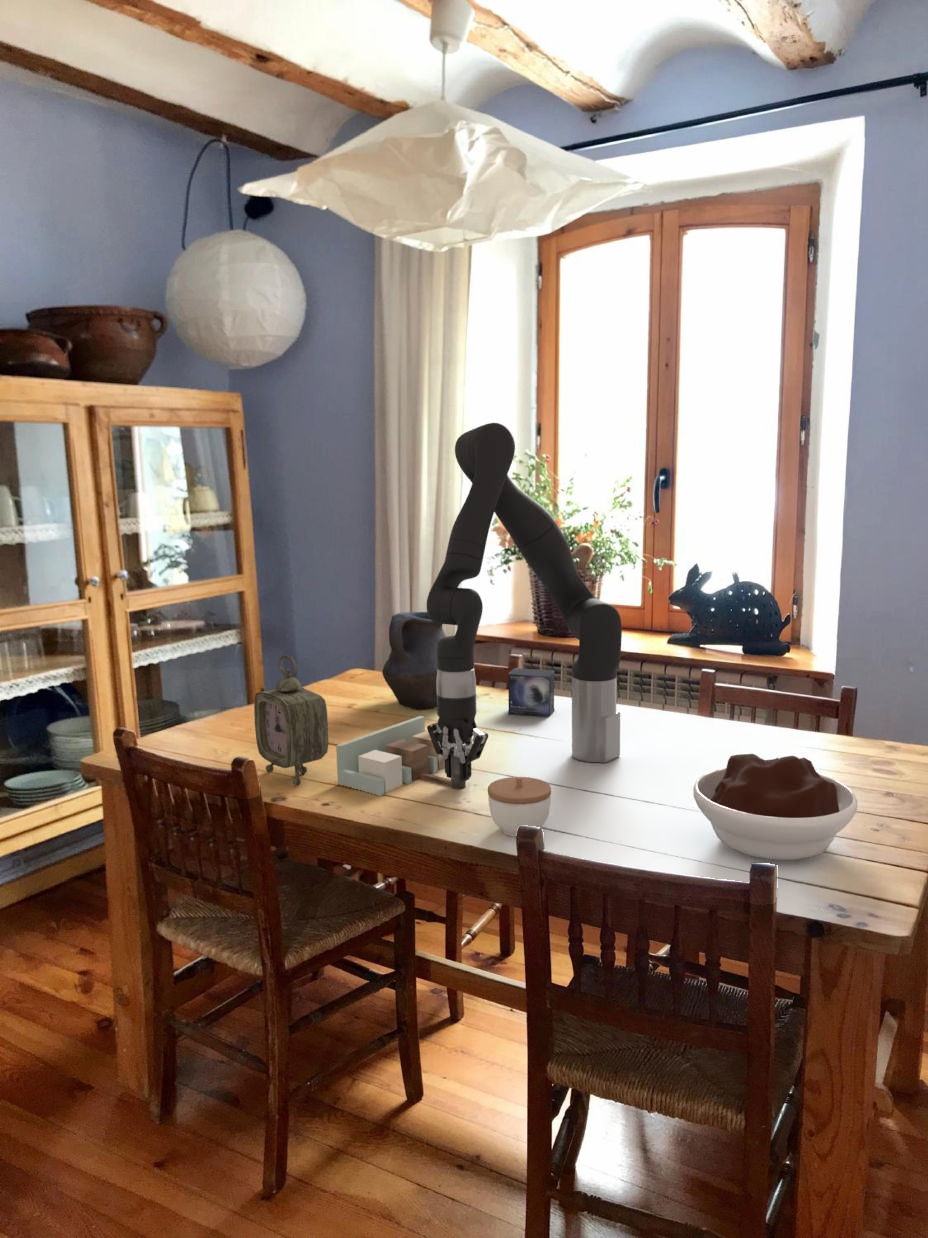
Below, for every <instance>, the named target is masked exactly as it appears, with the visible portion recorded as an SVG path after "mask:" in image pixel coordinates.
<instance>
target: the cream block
mask: <svg viewBox="0 0 928 1238" xmlns="http://www.w3.org/2000/svg"><path fill="white" fill-rule="evenodd" d="M358 764H359V773H362V774H366V775H370V776H374V777H377V778H381V779H384V793H388V792H390V791H392V790H393V791H394V790H395V789H396V788H399V787H402V786H403V783H402V756H399V755H394V754H390V753H386V752H382V751H378V750H373V751H371V752H368V753H365V754H363V755H360V756H358Z"/></svg>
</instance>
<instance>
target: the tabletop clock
mask: <svg viewBox="0 0 928 1238" xmlns="http://www.w3.org/2000/svg"><path fill="white" fill-rule="evenodd" d="M283 659H286V660H287V659H288V660H289V661H290V662H292V664H293V667H294V672H293V673H291V672H292V671H291V668H286V669H285V670H284V668H282V664H281V662H282V660H283ZM277 661H278V663H277V665H278V668H279V671H280V672H281V673H282V674H283V675H284V676H285V677H283V678H280V679H279V680H278V681H277V683H276V685H275V688H274V689H270V690H269V689H268V690H264V691H259V692H257V693H255V695H254V705H253V706H254V707H253V709H254V713H253V714H254V728H255V737H256V738H255V739H256V745H257V749H258V753H259V755H260V756H261V757H262V758H263V759H264V760H265V761H268V763H270V764H267V765H266V766H265V771H266V772H267V773H269V772H270V773H272V772H274V771H275V770H274V769H275V768H274V766H277V767H280V768H283V769H287V768H288V769H289V768H292V767H294V772H295V773H294V775H295V776H294V777H293V779H292V781H291V782H292V785H294V786H295V785H297V786H299V785H301V782H302V781H301V778H300V777H299V775H300V774H301V773H305V774H306V773H307V772H308V767H307V766H305V765H304V764H308V763H311V762H312V763H313V762H315V761H319V760H323V758H324V757H325V756H326V755H327V753H328V749H329V721H328V709H327V703H326V699H325V698H324V697H323V696H322V695H321V694H319V693H315V692H314V691H311V690H309V689H307V688H304V687H302V684H301V682H300V681H299V680H298V678H296V677H295V676H296V674H297V672H298V666H297V665H298V664H297V662H296V660H295V659H294V658H293V657H292V656H290V655H288V654H282V655H280V656H279V658H278V660H277Z"/></svg>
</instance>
